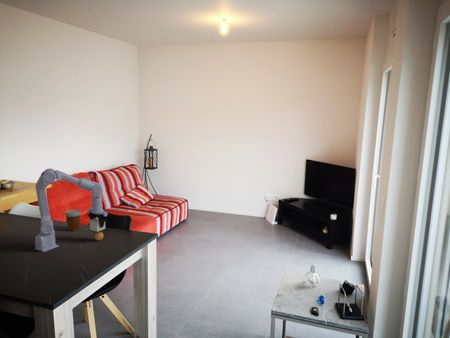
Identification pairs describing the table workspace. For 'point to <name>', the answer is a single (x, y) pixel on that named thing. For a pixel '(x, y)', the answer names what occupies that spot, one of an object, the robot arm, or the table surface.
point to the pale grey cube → (96, 225)
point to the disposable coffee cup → (73, 219)
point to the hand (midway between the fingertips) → (97, 225)
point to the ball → (99, 236)
